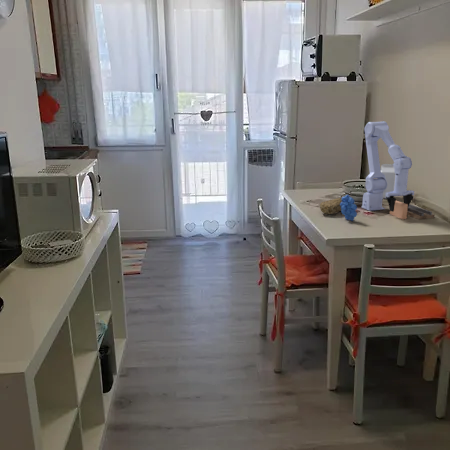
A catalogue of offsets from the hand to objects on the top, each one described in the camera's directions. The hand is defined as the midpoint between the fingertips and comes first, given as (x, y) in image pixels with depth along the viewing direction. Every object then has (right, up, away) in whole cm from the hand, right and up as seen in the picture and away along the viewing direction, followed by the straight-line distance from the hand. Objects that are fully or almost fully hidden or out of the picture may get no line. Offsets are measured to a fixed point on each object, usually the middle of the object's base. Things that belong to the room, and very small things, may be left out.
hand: (398, 210), depth 225 cm
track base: (+9, -2, +4) cm, 10 cm away
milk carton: (+7, +9, +40) cm, 41 cm away
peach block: (0, -3, +1) cm, 3 cm away
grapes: (-27, -5, -4) cm, 27 cm away
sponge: (-28, -1, +11) cm, 30 cm away
